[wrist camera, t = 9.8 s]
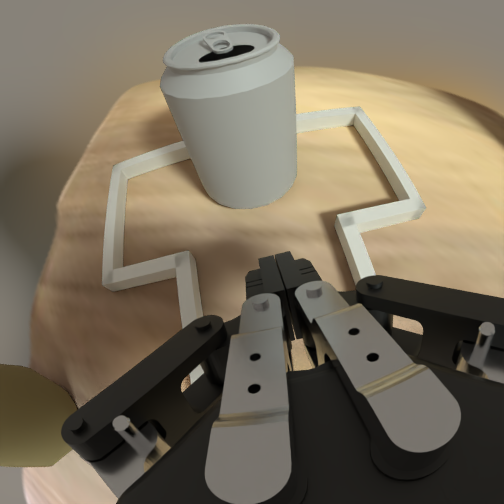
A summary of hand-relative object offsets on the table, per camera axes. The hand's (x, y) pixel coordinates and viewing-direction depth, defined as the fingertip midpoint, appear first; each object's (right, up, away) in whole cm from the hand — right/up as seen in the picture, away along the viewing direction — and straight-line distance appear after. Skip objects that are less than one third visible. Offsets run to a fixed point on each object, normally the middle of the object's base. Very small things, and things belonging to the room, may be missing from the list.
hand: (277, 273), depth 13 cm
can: (-1, +7, +9) cm, 11 cm away
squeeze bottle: (-17, -13, +2) cm, 21 cm away
